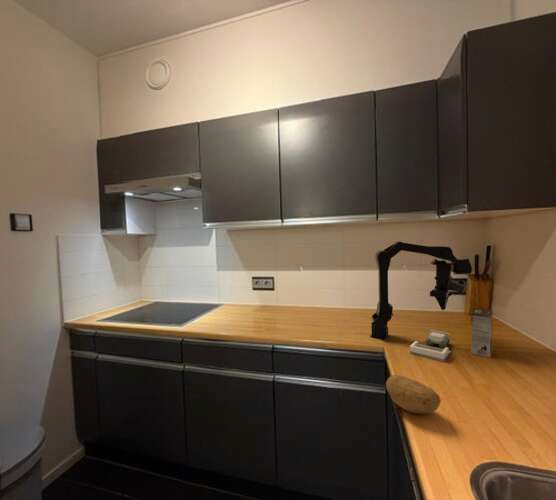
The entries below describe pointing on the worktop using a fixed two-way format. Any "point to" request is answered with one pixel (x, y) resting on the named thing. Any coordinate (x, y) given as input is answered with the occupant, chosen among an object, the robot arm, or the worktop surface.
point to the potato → (412, 395)
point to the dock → (429, 351)
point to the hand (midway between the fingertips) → (443, 309)
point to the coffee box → (481, 332)
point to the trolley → (438, 339)
